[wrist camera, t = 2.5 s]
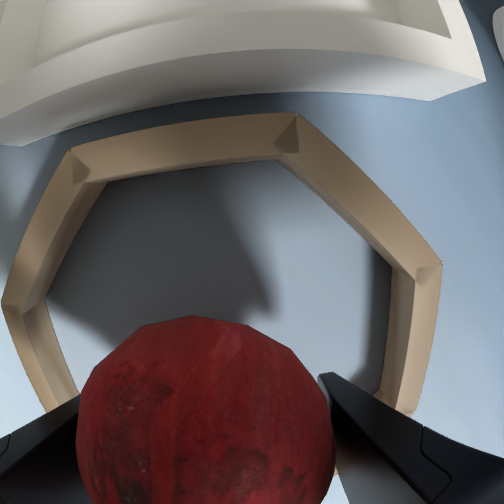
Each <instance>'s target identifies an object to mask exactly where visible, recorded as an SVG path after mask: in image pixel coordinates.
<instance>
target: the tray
mask: <svg viewBox="0 0 504 504" xmlns="http://www.w3.org/2000/svg"><path fill="white" fill-rule="evenodd" d="M483 82H486V78H485V75H484V71H483V67H482V64H481V60H480V57H479V53H478V50H477V47H476V44H475V41H474V38H473V35H472V33H471V30H470V27H469V24H468V22H467V19H466V17H465V14H464V12H463V10H462V7H461V5H460V3H459V0H0V144H4V145H13V146H25V145H27V144H30V143H32V142H35V141H38V140H40V139H43V138H46V137H48V136H51V135H54V134H57V133H60V132H63V131H66V130H69V129H72V128H75V127H78V126H81V125H85V124H88V123H91V122H95V121H98V120H102V119H106V118H109V117H113V116H117V115H121V114H125V113H129V112H134V111H138V110H143V109H148V108H152V107H157V106H163V105H168V104H174V103H180V102H186V101H192V100H199V99H207V98H215V97H224V96H233V95H245V94H258V93H277V92H342V93H360V94H374V95H384V96H394V97H402V98H410V99H417V100H424V101H431V100H434V99H437V98H439V97H442V96H445V95H448V94H451V93H453V92H456V91H459V90H462V89H465V88H468V87H471V86H474V85H477V84H480V83H483Z"/></svg>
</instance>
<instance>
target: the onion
mask: <svg viewBox="0 0 504 504" xmlns="http://www.w3.org/2000/svg"><path fill="white" fill-rule="evenodd" d="M75 444H76V454H77V462H78V467H79V471H80V474H81V478H82V481H83V484H84V487H85V489H86V492H87V494H88V496H89V498H90V500H91V502H92V504H321V502H322V501H323V499H324V497H325V496H326V494H327V492H328V489H329V486H330V484H331V481H332V478H333V475H334V472H335V461H336V444H335V439H334V434H333V428H332V423H331V418H330V413H329V408H328V404H327V399H326V396H325V394H324V393H323V391H322V390H321V388H320V387H319V385H318V384H317V382H316V381H315V379H314V378H313V376H312V375H311V374H310V373H309V371H308V370H307V369H306V368H305V366H304V365H303V364H302V363H301V361H300V360H299V359H298V358H297V356H296V355H295V354H294V353H293V351H292V350H291V349H290V348H288V347H286V346H284V345H283V344H281V343H279V342H277V341H275V340H273V339H271V338H270V337H268V336H266V335H264V334H262V333H261V332H259V331H257V330H255V329H253V328H252V327H250V326H248V325H244V324H238V323H232V322H227V321H221V320H216V319H210V318H205V317H200V316H193V315H190V316H186V317H182V318H177V319H173V320H168V321H164V322H159V323H155V324H150V325H145V326H141V327H140V328H139V329H138V330H137V331H136V332H134V333H133V334H132V335H131V336H130V337H129V338H127V339H126V340H125V341H124V342H123V343H122V344H120V345H119V346H118V347H117V348H116V349H115V350H114V351H112V352H111V353H110V354H109V355H108V356H107V357H106V358H104V359H103V360H102V361H101V362H100V363H99V364H98V365H96V366H95V367H94V369H93V370H92V372H91V374H90V376H89V378H88V380H87V382H86V384H85V386H84V387H83V389H82V391H81V398H80V406H79V414H78V423H77V432H76V442H75Z"/></svg>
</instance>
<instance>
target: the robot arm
mask: <svg viewBox="0 0 504 504" xmlns="http://www.w3.org/2000/svg"><path fill="white" fill-rule="evenodd" d="M317 384H318V385H319V387H320V388H321V390H322V391H323V393H324V394H325V396H326V399H327V404H328V408H329V413H330V418H331V423H332V428H333V434H334V439H335V444H336V461H335V467H336V470H337V472H338V475H339V478H340V480H341V483H342V485H343V488H344V491H345V493H346V496H347V498H348V501H349V504H504V458H501V457H498V456H495V455H492V454H489V453H486V452H483V451H480V450H477V449H475V448H472V447H469V446H466V445H464V444H461V443H459V442H456V441H454V440H452V439H450V438H447V437H445V436H443V435H441V434H439V433H437V432H435V431H433V430H432V429H430V428H428V427H426V426H424V427H423V425H422V424H420V423H419V422H417V421H415V420H413V419H411V418H410V417H408V416H406V415H404V414H403V413H401V412H399V411H397V410H396V409H394V408H392V407H390V406H389V405H387V404H385V403H384V402H382V401H380V400H378V399H377V398H375V397H373V396H372V395H370V394H368V393H367V392H365V391H363V390H362V389H360V388H358V387H357V386H355V385H354V384H352V383H350V382H349V381H347V380H345V379H344V378H342V377H341V376H339V375H337V374H336V373H334V372H328V373H323V374H319V376H318V383H317ZM80 398H81V394H79V395H77V396H76V397H74V398H72V399H70V400H69V401H67V402H65V403H63V404H62V405H60V406H58V407H57V408H55V409H53V410H51V411H49V412H48V413H46V414H44V415H42V416H41V417H39V418H37V419H35V420H34V421H32V422H30V423H28V424H26V425H25V426H23V427H21V428H19V429H17V430H15V431H14V432H12V433H11V434H8V435H6V436H4V437H2V438H1V439H0V504H92V502H91V500H90V498H89V496H88V494H87V492H86V489H85V487H84V484H83V481H82V478H81V474H80V471H79V467H78V462H77V454H76V444H75V442H76V432H77V423H78V414H79V406H80Z"/></svg>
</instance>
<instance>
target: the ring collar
mask: <svg viewBox="0 0 504 504" xmlns="http://www.w3.org/2000/svg"><path fill="white" fill-rule="evenodd" d="M275 159H276V160H278V161H279V162H280V163H281V164H282V165H283V166H285V167H286V168H287V169H288V170H289V171H291V172H292V173H293V174H294V175H295V176H296V177H298V178H299V179H300V180H301V181H302V182H303V183H304V184H306V185H307V186H308V187H309V188H310V189H311V190H312V191H313V192H315V193H316V194H317V195H318V196H319V197H320V198H321V199H322V200H323V201H325V202H326V203H327V204H328V205H329V206H330V207H331V208H332V209H333V210H334V211H335V212H337V213H338V214H339V215H340V216H341V217H342V218H343V219H344V220H345V221H346V222H347V223H348V224H349V225H350V226H351V227H352V228H353V229H354V230H355V231H357V232H358V233H359V234H360V235H361V236H362V237H363V238H364V239H365V240H366V241H367V242H368V243H369V244H370V245H371V246H372V247H373V248H374V249H375V250H376V251H377V252H378V253H379V254H380V255H381V256H382V257H383V258H384V259H385V260H386V261H387V263H388V264H389V265H390V266H391V267H392V277H391V296H390V310H389V322H388V332H387V341H386V350H385V357H384V364H383V371H382V378H381V384H380V389H379V390H378V391H376V392H375V393H374V394H373V395H372V396H373V397H375V398H377V399H378V400H380V401H382V402H384V403H385V404H387V405H389V406H390V407H392V408H394V409H396V410H397V411H399V412H401V413H403V414H404V415H406V416H408V417H410V416H411V415H413V414H414V411H416V408H417V405H418V401H419V398H420V394H421V391H422V387H423V383H424V379H425V375H426V371H427V366H428V362H429V357H430V352H431V347H432V342H433V337H434V331H435V325H436V319H437V312H438V304H439V296H440V287H441V277H442V264H441V262H442V261H441V260H440V258H439V257H438V256H437V254H436V253H435V252H434V251H433V249H432V248H431V247H430V246H429V244H428V243H427V242H426V241H425V239H424V238H423V237H422V236H421V235H420V233H419V232H418V231H417V230H416V229H415V227H414V226H413V225H412V224H411V223H410V222H409V220H408V219H407V218H406V217H405V216H404V215H403V214H402V212H401V211H400V210H399V209H398V208H397V207H396V206H395V205H394V204H393V202H392V201H391V200H390V199H389V198H388V197H387V196H386V195H385V194H384V193H383V192H382V191H381V190H380V188H379V187H378V186H377V185H376V184H375V183H374V182H373V181H372V180H371V179H370V178H369V177H368V176H367V175H366V174H365V173H364V172H363V171H362V170H361V169H360V168H359V167H358V166H357V165H356V164H355V163H354V162H353V161H352V160H351V159H350V158H349V157H348V156H346V155H345V154H344V153H343V152H342V151H341V150H340V149H339V148H338V147H337V146H336V145H335V144H334V143H332V142H331V141H330V140H329V139H328V138H327V137H326V136H325V135H324V134H322V133H321V132H320V131H319V130H318V129H317V128H316V127H314V126H313V125H312V124H311V123H310V122H309V121H307V120H306V119H305V118H304V117H303V116H301V115H300V114H299V113H298V115H297V116H295V112H281V113H263V114H249V115H238V116H228V117H219V118H210V119H203V120H195V121H189V122H182V123H176V124H170V125H164V126H159V127H153V128H148V129H143V130H138V131H134V132H129V133H125V134H120V135H116V136H112V137H108V138H104V139H100V140H96V141H92V142H89V143H85V144H81V145H78V146H74V147H71V150H68V151H67V152H66V154H65V156H64V157H63V159H62V161H61V162H60V164H59V166H58V167H57V169H56V171H55V173H54V175H53V176H52V178H51V180H50V182H49V184H48V186H47V188H46V189H45V191H44V193H43V195H42V197H41V199H40V201H39V203H38V205H37V207H36V210H35V212H34V214H33V216H32V218H31V220H30V223H29V225H28V227H27V229H26V232H25V234H24V237H23V239H22V241H21V244H20V246H19V249H18V252H17V254H16V257H15V260H14V262H13V265H12V268H11V271H10V274H9V277H8V280H7V283H6V286H5V289H4V293H3V296H2V299H1V304H2V305H1V308H2V311H3V314H4V317H5V320H6V323H7V326H8V329H9V332H10V334H11V337H12V340H13V343H14V345H15V348H16V350H17V353H18V355H19V358H20V360H21V362H22V365H23V367H24V369H25V371H26V374H27V376H28V378H29V380H30V382H31V384H32V386H33V388H34V390H35V392H36V394H37V396H38V398H39V400H40V402H41V404H42V406H43V408H44V409H45V411H46V413H48V412H49V411H51V410H53V409H55V408H57V407H58V406H60V405H62V404H63V403H65V402H67V401H69V400H70V399H72V398H74V397H76V396H77V395H79V393H78V390H77V388H76V386H75V384H74V381H73V379H72V377H71V375H70V372H69V370H68V367H67V365H66V362H65V360H64V357H63V355H62V352H61V349H60V347H59V344H58V341H57V338H56V335H55V332H54V329H53V326H52V323H51V320H50V317H49V314H48V310H47V307H46V303H45V300H44V299H45V297H46V295H47V293H48V290H49V288H50V286H51V284H52V281H53V279H54V277H55V275H56V273H57V271H58V269H59V267H60V265H61V263H62V261H63V259H64V257H65V255H66V253H67V251H68V249H69V247H70V245H71V243H72V242H73V240H74V238H75V236H76V234H77V232H78V231H79V229H80V227H81V225H82V224H83V222H84V220H85V218H86V217H87V215H88V213H89V212H90V210H91V208H92V207H93V205H94V203H95V202H96V200H97V198H98V197H99V195H100V194H101V192H102V191H103V189H104V187H105V186H106V184H107V183H108V182H111V181H116V180H122V179H127V178H132V177H138V176H144V175H149V174H155V173H162V172H168V171H175V170H182V169H189V168H196V167H204V166H212V165H221V164H230V163H240V162H250V161H262V160H275ZM337 474H338V472H337V470H336V467H335V472H334V475H333V477H334V476H335V475H337Z"/></svg>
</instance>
